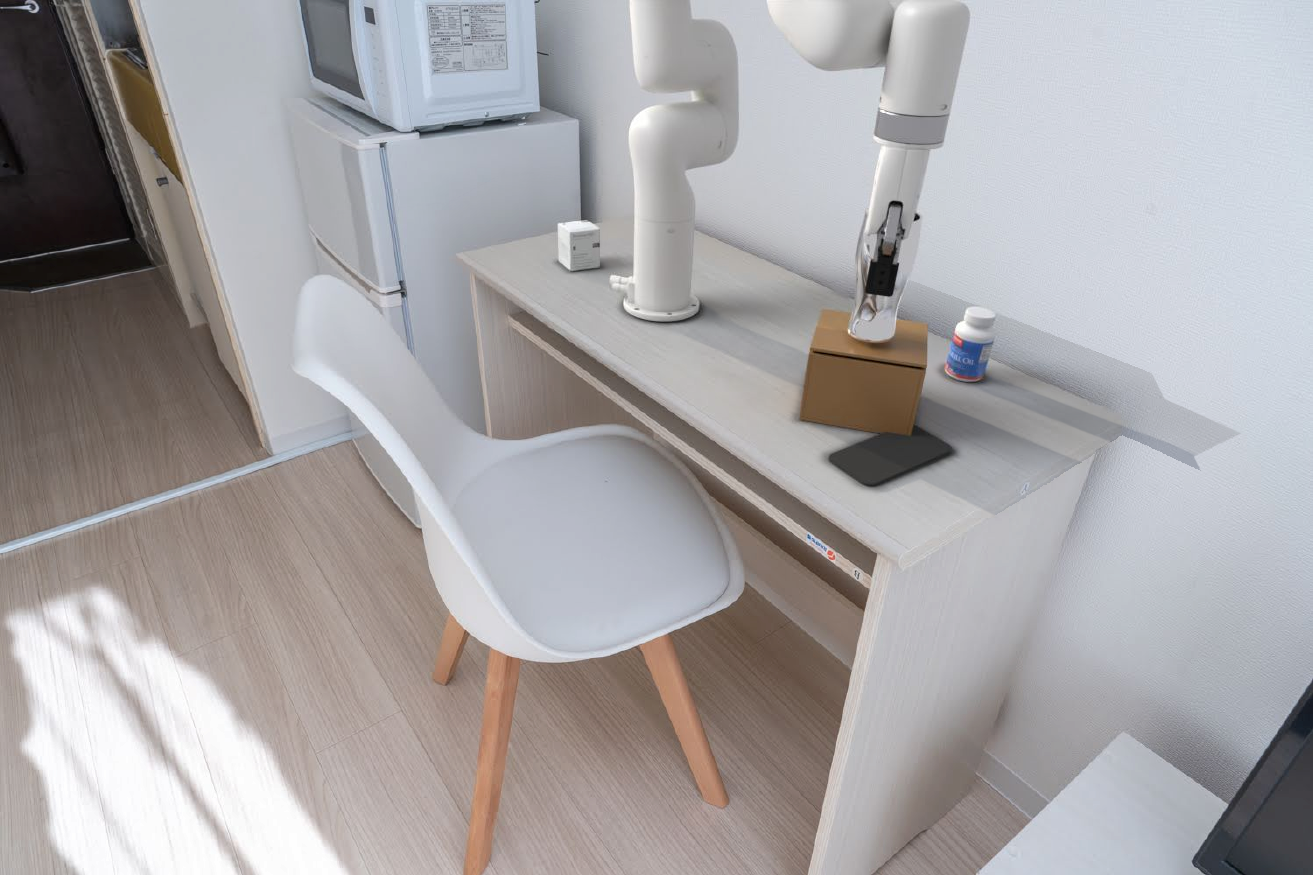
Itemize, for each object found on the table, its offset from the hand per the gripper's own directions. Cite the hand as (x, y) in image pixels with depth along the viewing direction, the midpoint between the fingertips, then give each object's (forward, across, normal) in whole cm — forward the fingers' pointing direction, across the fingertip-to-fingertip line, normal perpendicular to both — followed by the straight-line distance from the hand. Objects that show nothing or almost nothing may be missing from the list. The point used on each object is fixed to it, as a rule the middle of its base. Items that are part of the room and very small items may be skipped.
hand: (880, 281), depth 97 cm
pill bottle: (+18, -16, +14) cm, 28 cm away
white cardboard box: (+18, -38, -54) cm, 68 cm away
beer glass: (+7, 0, 0) cm, 7 cm away
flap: (+8, -5, 0) cm, 9 cm away
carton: (+18, -1, 0) cm, 18 cm away
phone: (+18, +10, +5) cm, 21 cm away
